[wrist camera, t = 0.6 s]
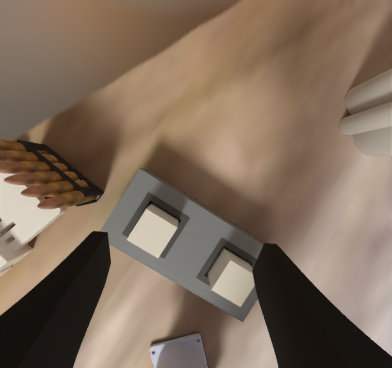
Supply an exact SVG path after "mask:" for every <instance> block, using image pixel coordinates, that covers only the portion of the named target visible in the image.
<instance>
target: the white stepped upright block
mask: <svg viewBox="0 0 392 368" xmlns="http://www.w3.org/2000/svg"><path fill="white" fill-rule="evenodd" d="M345 105H346V108H347V110H348V112H349V113H350V114H351V116H348V117H345V118H343V119H342V120H341V121H340V125H339V127H340V130H341V132H342V133H343V134H345V135H348V136H349V135H354V141H355V145H356V147H357V149H358V150H359V151H360V152H361V153H362V154H364V155H367V156H373V157H374V156H386V155H392V68H391V69H389V70H387V71H385V72H383V73H381V74H379V75H377V76H375V77H373V78H371V79H369V80H367V81H365V82H363V83H361V84H359V85H357V86H355V87H353V88H351V89H350V90H349V91H348V92H347V94H346V97H345Z"/></svg>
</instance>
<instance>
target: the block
mask: <svg viewBox="0 0 392 368" xmlns="http://www.w3.org/2000/svg"><path fill="white" fill-rule="evenodd" d="M152 202H153V203H155V204H157V205H158V206H160V207H161V208H163V209H165V210H166V211H168V212H170V213H171V214H173V215H174V216H176V217H178V228H177V230H176V231H175V233H174V234H173V236H172V237H171V239H170V241H169V242H168V244H167V245H166V247H165V248H164V250H163V252H162V253H161V255H160V256H159V258H156V257H155V256H153V255H151V254H150V253H148V252H146V251H145V250H143V249H141V248H139V247H138V246H136V245H134V244H133V243H131V242H129V241H128V240H127V238H128V237H129V235H130V233H131V232H132V230H133V229H134V227H135V226H136V224H137V222H138V221H139V219H140V218H141V216H142V215H143V213H144V211H145V210H146V208H147V207H149V206H150V204H151V203H152ZM100 232H108V239H109V244H110V245H112V246H114V247H115V248H117V249H119V250H120V251H122V252H124V253H126V254H127V255H129V256H131V257H132V258H134V259H136V260H138V261H139V262H141V263H143V264H144V265H146V266H148V267H150V268H151V269H153V270H155V271H156V272H158V273H160V274H161V275H163V276H165V277H167V278H168V279H170V280H172V281H173V282H175V283H177V284H179V285H180V286H182V287H184V288H185V289H187V290H189V291H191V292H192V293H194V294H196V295H197V296H199V297H201V298H203V299H204V300H206V301H208V302H209V303H211V304H213V305H215V306H216V307H218V308H220V309H221V310H223V311H225V312H227V313H228V314H230V315H232V316H233V317H235V318H237V319H238V320H240V321H242V322H243V321H244V319H245V318H246V316H247V315H248V313H249V312H250V310H251V308H252V307H253V305H254V304H255V302H256V301H257V299H258V297H257V293H256V289H255V286H254V287H253V289H252V290H251V292H250V293H249V295H248V296H247V298H246V300H245V301H244V303H243V304H242V306H241V307H239V306H238V305H236V304H234V303H233V302H231V301H229V300H227V299H226V298H224V297H222V296H221V295H219V294H217V293H216V292H214V291H212V290H211V287H210V282H209V278H208V274H207V271H208V269H209V268H210V266H211V265H212V263H213V262H214V260H215V259H216V257H217V255H218V254H219V252H220V251H221V249H222V248H223V246H225V247H226V248H228V249H230V250H231V251H233V252H235V253H236V254H238V256H240V257H241V258H243V259H245V260H246V261H248V263H249V264H250V266H251V267H252V268H253V267H254V265H255V263H256V261H257V258H258V256H259V254H260V251H261V249H262V247H263V245H264V243H263V242H262V241H260V240H259V239H257V238H255V237H254V236H252V235H251V234H249V233H248V232H246V231H244V230H243V229H241V228H240V227H238V226H236V225H235V224H233V223H232V222H230V221H228V220H227V219H225V218H224V217H222V216H220V215H219V214H217V213H216V212H214V211H213V210H211V209H209V208H208V207H206V206H205V205H203V204H201V203H200V202H198V201H197V200H195V199H193V198H192V197H190V196H189V195H187V194H185V193H184V192H182V191H181V190H179V189H177V188H176V187H174V186H173V185H171V184H170V183H168V182H166V181H165V180H163V179H162V178H160V177H158V176H157V175H155V174H154V173H152V172H150V171H149V170H147V169H139V171H138V172H137V174H136V175H135V177H134V178H133V180H132V182H131V183H130V185H129V186H128V188H127V190H126V191H125V193H124V194H123V196H122V197H121V199H120V201H119V202H118V204H117V205H116V207H115V208H114V210H113V212H112V213H111V215H110V216H109V218H108V220H107V221H106V223H105V224H104V226H103V227H102V229H101V231H100Z"/></svg>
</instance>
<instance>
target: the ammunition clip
mask: <svg viewBox="0 0 392 368" xmlns="http://www.w3.org/2000/svg"><path fill="white" fill-rule="evenodd" d="M18 142H19V143H18ZM0 173H6V174H15V175H12V176H9V177H6V178H5V179H4V181H5V182H7V183H9V184H13V185H34V186H33V187H29V188H27V189H25V190H23V191H22V192H21V195H23V196H26V197H47V196H49V197H51V198H48V199H45V200H43V201H42V202H40V203H39V204H38V205H37V207H38V208H40V209H56V208H61V207H70V206H74V205H76V206H77V207H78V206H82V205H86V204H90V203H94V202H97V201H98V199H99V198H100V197H101V196H102V195H103V194H104V192H103V191H101V190H100V189H99V188H98V187H96V186H95V185H94V184H93V183H92V182H90V181H89V180H88V179H87V178H85V177H84V176H83V175H82V174H81V173H79V172H78V171H77V170H76V169H74V168H73V167H72V166H71V165H70V164H68V163H67V162H66V161H65V160H63V159H62V158H61V157H60V156H59V155H57V154H56V153H55V152H54V151H53V150H51V149H50V148H49V147H48V146H46V145H43V144H38V143H32V142H27V141H21V140H18V141H17V142H13V141H7V140H1V139H0Z"/></svg>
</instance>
